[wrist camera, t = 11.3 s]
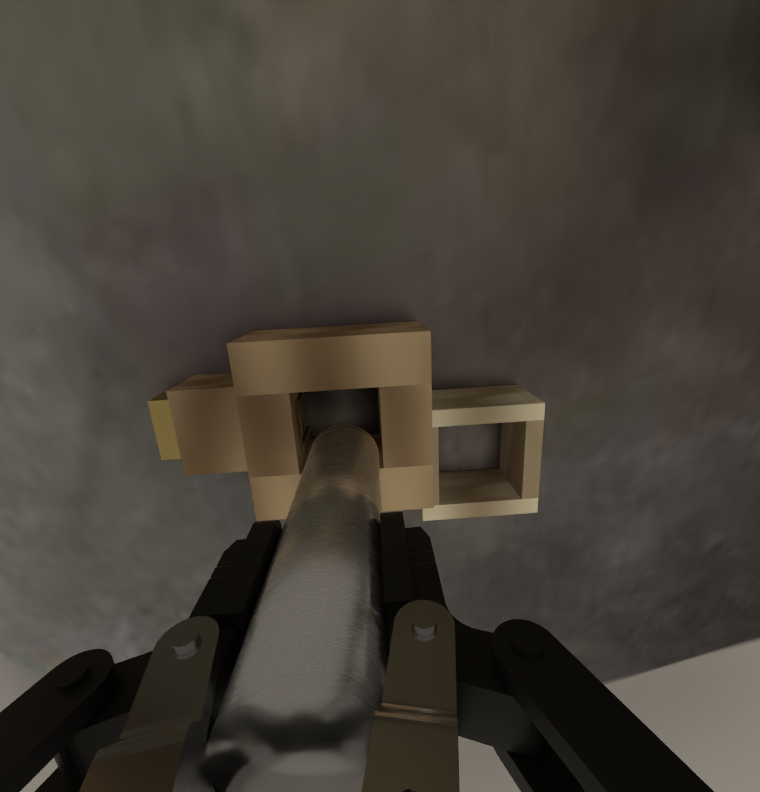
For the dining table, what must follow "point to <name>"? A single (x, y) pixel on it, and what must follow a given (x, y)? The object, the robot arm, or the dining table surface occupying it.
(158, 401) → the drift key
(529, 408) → the frame
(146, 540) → the dining table surface
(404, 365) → the socket block
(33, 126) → the dining table surface
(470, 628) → the robot arm
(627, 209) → the dining table surface
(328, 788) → the rod
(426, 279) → the dining table surface
